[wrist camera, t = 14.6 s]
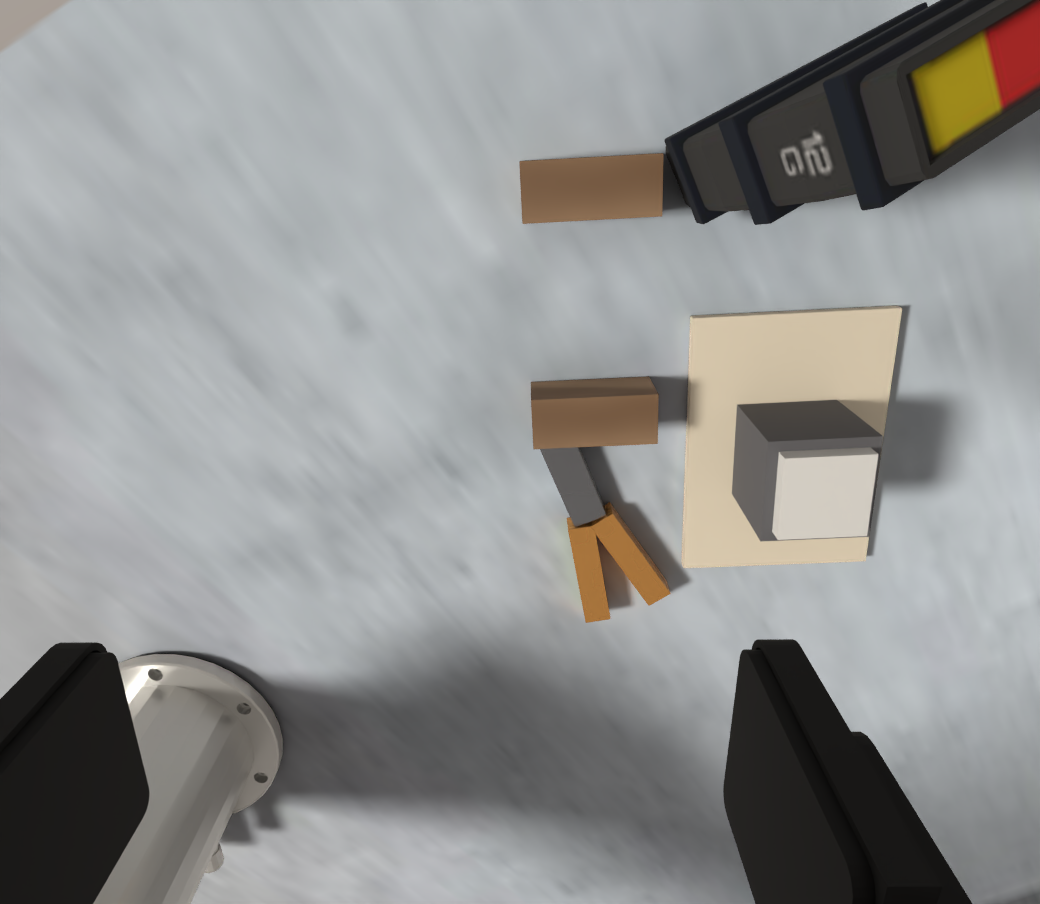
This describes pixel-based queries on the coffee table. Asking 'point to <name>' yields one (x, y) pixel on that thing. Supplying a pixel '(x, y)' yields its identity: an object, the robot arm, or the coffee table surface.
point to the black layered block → (867, 113)
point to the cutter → (599, 536)
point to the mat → (771, 379)
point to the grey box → (805, 470)
